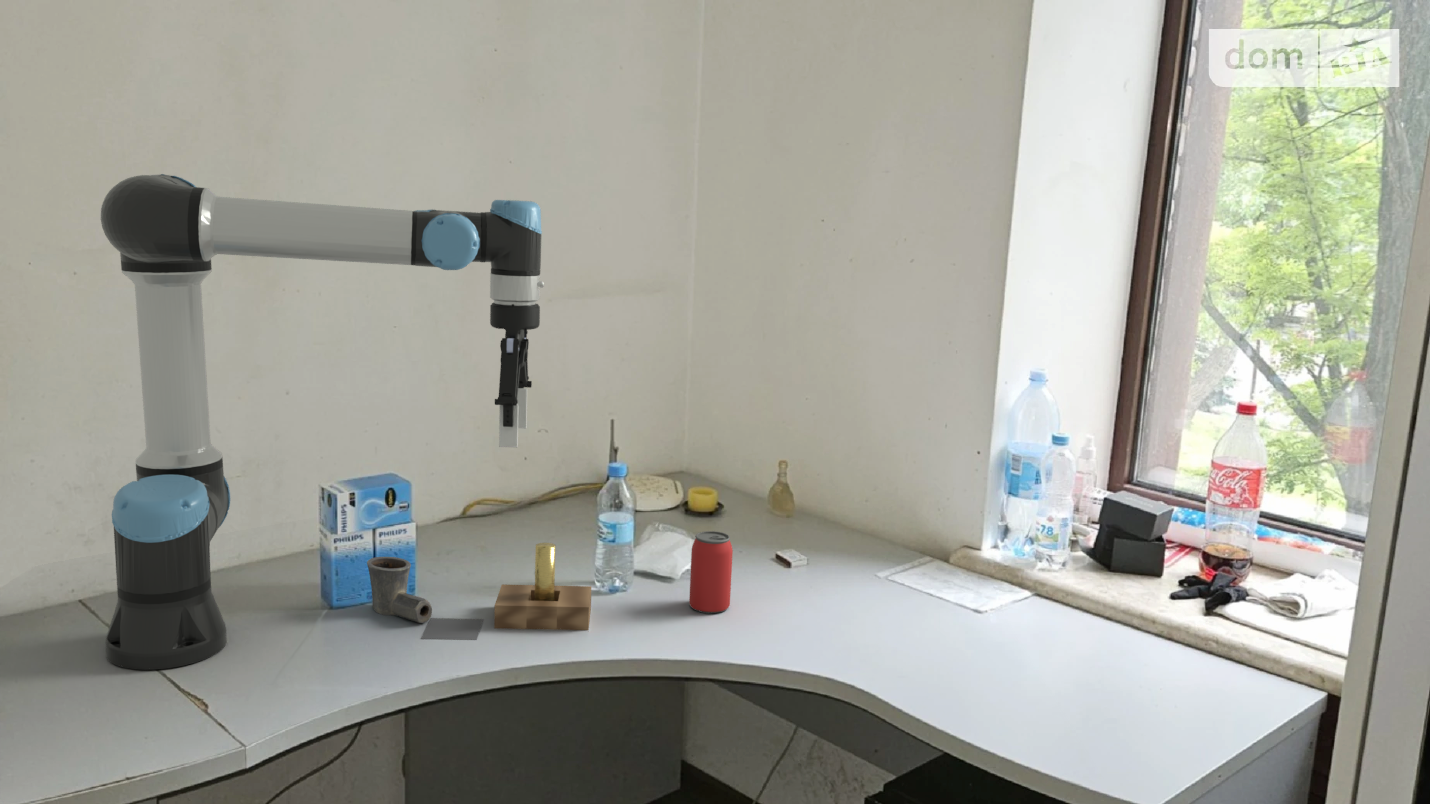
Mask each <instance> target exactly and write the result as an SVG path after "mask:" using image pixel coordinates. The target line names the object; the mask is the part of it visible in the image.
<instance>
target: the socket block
mask: <svg viewBox="0 0 1430 804" xmlns="http://www.w3.org/2000/svg"><path fill="white" fill-rule="evenodd" d="M499 588H500V589H499V591H498V594H497V596H496V597H497V598H496V600H495V603H494V614H493V615H494V617H493V619H494V620H493V621H494V625H493V626H494V627H493V628H494V629H506V630H507V629H508V630H510V629H511V630H512V629H513V630H552V631H554V630H555V631H556V630H558V631H559V630H561V631H565V630H566V631H589V628H590V621H591V610H592V586H591V585H590V586H589V585H588V586H587V585H582V586H581V585H579V586H578V585H555V588H554V601H534V600H535V584H501V586H500V587H499Z"/></svg>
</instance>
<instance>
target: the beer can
mask: <svg viewBox="0 0 1430 804" xmlns="http://www.w3.org/2000/svg"><path fill="white" fill-rule="evenodd" d="M733 551H734V550H733V546H732V542H731V536H730V535H729V534H727V533H725V532H722V531H715V530H711V531H710V530H707V531H700V532H698V533H696V534H695V539H694V541H693V544H692V546H691V554H690V556H691V558H690V575H689V576H690V577H689V597H688V598H689V606H690V607H691V608H692V609H693V610H694V611H697V612H699V613H702V614H703V613H704V614H718V613H722V612H725V611H726V610H728V609H729V608H730V606H731V605H730V604H731V591H732V587H731V586H732V575H733V574H732V570H733V569H732V568H733Z"/></svg>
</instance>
